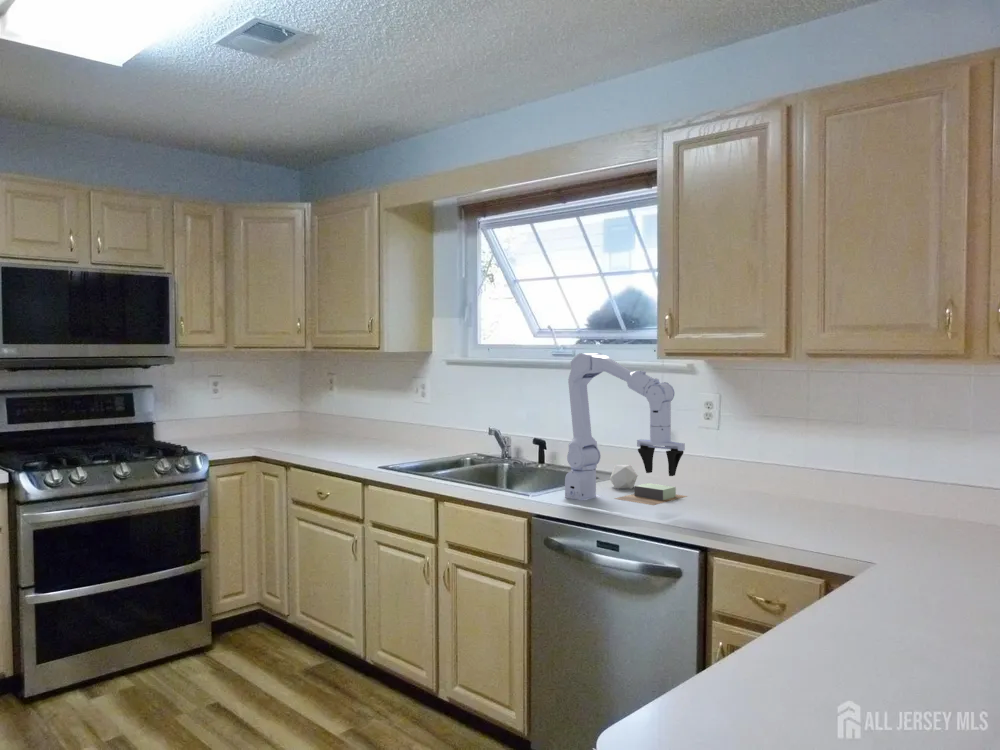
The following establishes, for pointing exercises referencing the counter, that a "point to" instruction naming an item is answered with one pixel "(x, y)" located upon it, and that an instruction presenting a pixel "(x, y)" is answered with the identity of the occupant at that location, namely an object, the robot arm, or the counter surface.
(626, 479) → the die
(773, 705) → the counter surface
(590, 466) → the robot arm
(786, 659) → the counter surface
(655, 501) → the walnut board
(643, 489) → the sage slab
